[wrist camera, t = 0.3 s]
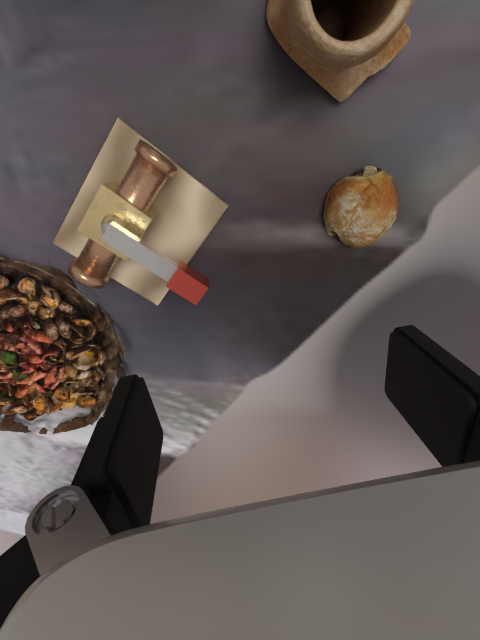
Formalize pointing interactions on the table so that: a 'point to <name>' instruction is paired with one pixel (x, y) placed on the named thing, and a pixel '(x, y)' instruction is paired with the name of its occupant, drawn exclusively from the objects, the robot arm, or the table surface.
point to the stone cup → (340, 38)
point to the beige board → (166, 228)
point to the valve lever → (156, 262)
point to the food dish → (52, 348)
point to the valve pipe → (120, 213)
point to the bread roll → (361, 207)
